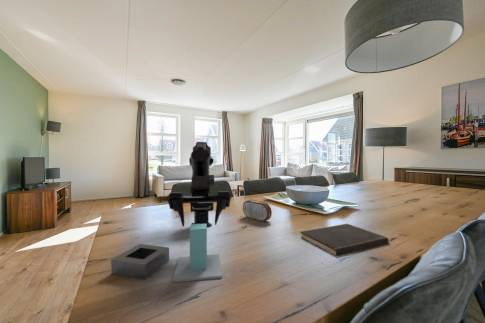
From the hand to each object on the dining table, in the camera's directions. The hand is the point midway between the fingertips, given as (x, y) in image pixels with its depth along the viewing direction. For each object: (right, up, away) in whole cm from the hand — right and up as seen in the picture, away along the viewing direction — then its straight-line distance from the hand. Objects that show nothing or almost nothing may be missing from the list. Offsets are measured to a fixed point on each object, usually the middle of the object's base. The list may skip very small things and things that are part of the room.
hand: (199, 225), depth 61 cm
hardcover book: (+46, -9, +11) cm, 48 cm away
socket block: (-13, -9, -7) cm, 17 cm away
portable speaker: (+18, -8, +34) cm, 40 cm away
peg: (+1, -8, -7) cm, 11 cm away
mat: (+1, -9, -7) cm, 11 cm away
